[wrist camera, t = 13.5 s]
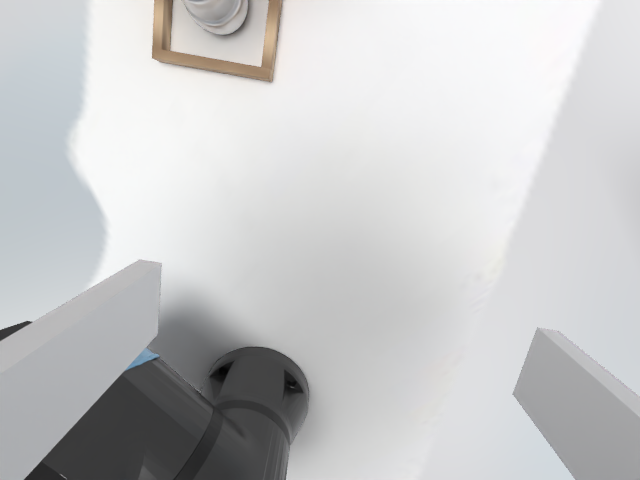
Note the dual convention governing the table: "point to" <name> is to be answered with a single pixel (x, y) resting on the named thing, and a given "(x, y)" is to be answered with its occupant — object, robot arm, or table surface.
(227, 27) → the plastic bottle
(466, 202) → the table surface
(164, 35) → the headboard holder
